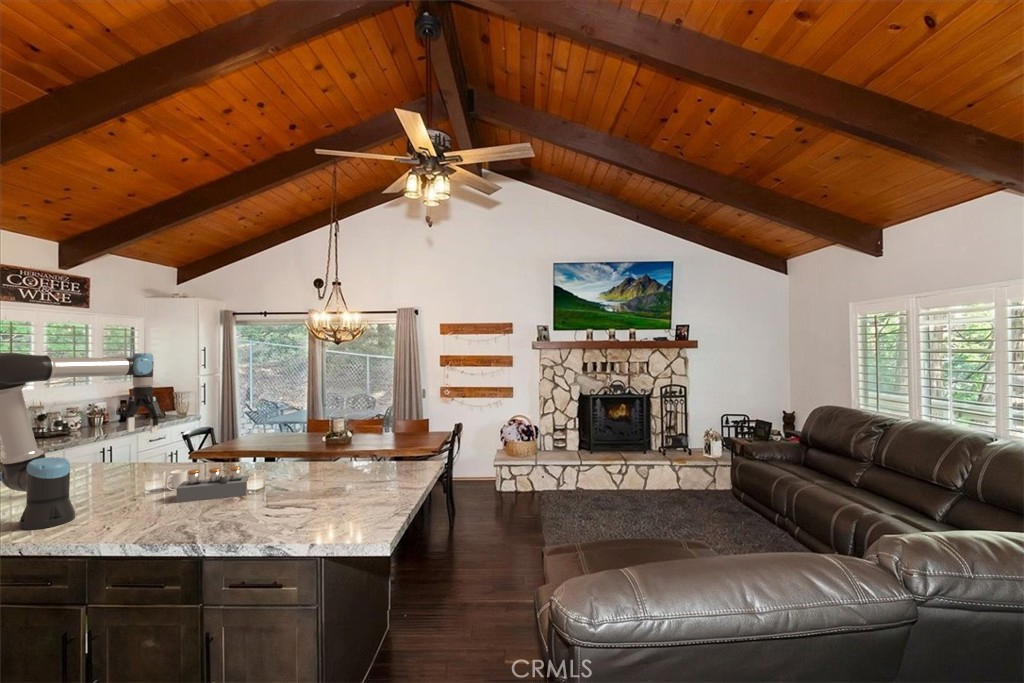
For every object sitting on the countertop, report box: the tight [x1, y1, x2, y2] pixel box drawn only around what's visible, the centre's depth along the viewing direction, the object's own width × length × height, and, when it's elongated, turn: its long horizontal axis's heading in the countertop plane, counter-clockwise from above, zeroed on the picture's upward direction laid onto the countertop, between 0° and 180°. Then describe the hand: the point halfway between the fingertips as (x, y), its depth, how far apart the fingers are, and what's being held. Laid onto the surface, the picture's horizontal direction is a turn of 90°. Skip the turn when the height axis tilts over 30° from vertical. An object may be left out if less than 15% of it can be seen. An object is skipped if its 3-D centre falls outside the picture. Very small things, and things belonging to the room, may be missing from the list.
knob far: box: [229, 465, 242, 482], centre depth 218 cm, size 5×5×7 cm
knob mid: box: [208, 467, 222, 484], centre depth 215 cm, size 5×5×7 cm
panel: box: [176, 475, 250, 503], centre depth 215 cm, size 26×12×6 cm, turn 113°
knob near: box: [187, 469, 201, 485], centre depth 212 cm, size 5×5×7 cm
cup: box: [164, 469, 189, 491], centre depth 223 cm, size 7×10×8 cm
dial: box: [220, 475, 228, 484], centre depth 212 cm, size 3×3×3 cm
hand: (142, 432), depth 223 cm, fingers open, 13 cm apart
